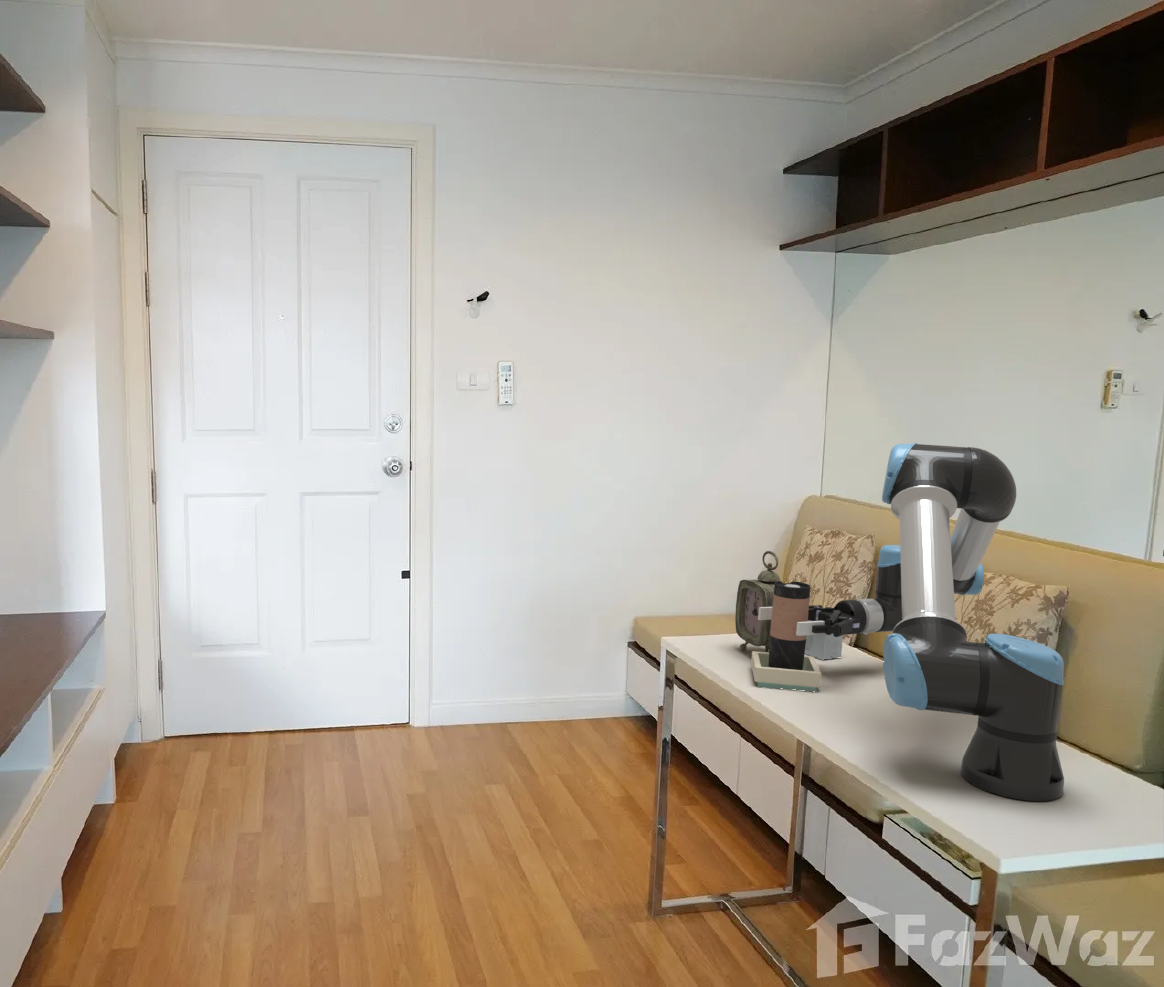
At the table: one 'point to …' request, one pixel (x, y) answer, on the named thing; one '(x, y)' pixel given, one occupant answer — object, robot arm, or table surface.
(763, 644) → the tabletop clock
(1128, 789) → the table surface
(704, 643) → the table surface
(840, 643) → the skincare box
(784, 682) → the rectangular tray
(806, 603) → the travel mug
